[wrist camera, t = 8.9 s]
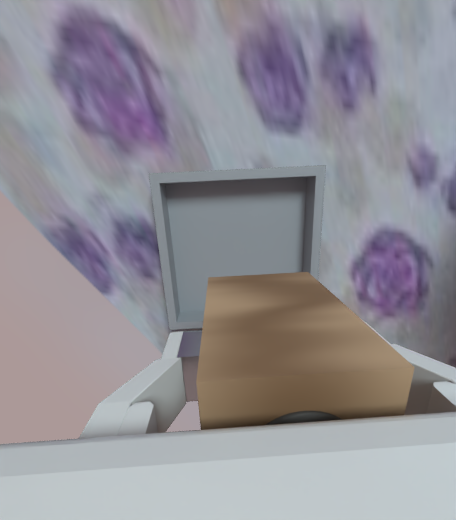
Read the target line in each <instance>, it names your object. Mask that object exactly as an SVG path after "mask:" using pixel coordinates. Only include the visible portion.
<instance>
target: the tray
mask: <svg viewBox="0 0 456 520" xmlns="http://www.w3.org/2000/svg"><path fill="white" fill-rule="evenodd" d="M325 171H326V165H321V166H300V167H278V168H257V169H236V170H215V171H193V172H172V173H151V174H149V180H150V188H151V195H152V203H153V210H154V218H155V225H156V232H157V240H158V247H159V255H160V262H161V270H162V277H163V285H164V292H165V299H166V307H167V314H168V322H169V329H170V330H177V329H194V328H203V319H204V311H205V302H206V293H207V285H208V277H225V276H243V275H261V274H279V273H297V272H309V273H310V274H311V275H312V276H313V277H314V278H315V279H316V280H318V276H319V261H320V246H321V231H322V216H323V201H324V186H325Z"/></svg>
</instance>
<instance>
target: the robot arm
mask: <svg viewBox="0 0 456 520" xmlns="http://www.w3.org/2000/svg"><path fill="white" fill-rule="evenodd" d="M363 322H365V321H363ZM365 323H366V322H365ZM366 324H367V323H366ZM367 325H368V324H367ZM368 326H369V327H370V328H371V329H372V330H374V329H373V328H372V327H371V326H370V325H368ZM374 331H375V330H374ZM375 332H376V331H375ZM376 333H377V334H378V335H379V336H380V337H381V338H383V337H382V336H381V335H380V334H379V333H378V332H376ZM201 336H202V330H200V331H177V332H171V333H170V334H169V337H168V340H167V343H166V345H165V348H164V351H163V354H162V357H161V359H157V360H155V361H154V362H153V363H151V364H150V365H149V366H147V367H146V368H145V369H143V370H142V371H141V372H140V373H138V374H137V375H136V376H134V377H133V378H132V379H130V380H129V381H128V382H126V383H125V384H124V385H123V386H121V387H120V388H119V389H117V390H116V391H115V392H113V393H112V394H111V395H109V396H108V397H107V398H106V399H104V400H103V401H102V402H100V403H99V404H98V406H97V408H96V409H95V411H94V413H93V414H92V416H91V418H90V420H89V421H88V423H87V425H86V427H85V429H84V430H83V432H82V434H81V435H80V437H79V439H67V440H53V441H39V442H24V443H11V444H0V520H456V368H455V367H452V366H450V365H447V364H445V363H442V362H440V361H437V360H435V359H432V358H429V357H427V356H424V355H422V354H419V353H417V352H414V351H412V350H409V349H407V348H404V347H402V346H399V345H397V344H390V343H389V342H388V341H387V340H385V339H384V338H383V339H384V340H385V341H386V342H387V343H388V344H389V345H390V346H391V347H393V348H394V349H395V350H396V351H397V352H398V353H399V354H400V355H402V356H403V357H404V358H405V359H406V360H407V361H408V362H409V363H411V364H412V365H413V366H414V367H415V368H414V373H413V377H412V382H411V387H410V391H409V396H408V400H407V405H406V410H405V414H404V415H401V416H387V417H373V418H359V419H345V420H331V421H318V422H304V423H290V424H277V425H263V426H249V427H235V428H221V429H207V430H194V431H179V432H166V431H167V429H168V428H169V426H170V425H171V424H172V422H173V421H174V419H175V418H176V417H177V415H178V414H179V413H180V411H181V410H182V408H183V407H184V406H185V404H186V402H189V401H198V394H197V384H196V380H197V371H198V362H199V354H200V345H201Z"/></svg>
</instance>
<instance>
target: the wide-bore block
mask: <svg viewBox="0 0 456 520" xmlns="http://www.w3.org/2000/svg"><path fill="white" fill-rule="evenodd" d="M414 368H415V367H414V366H413V365H412V364H411V363H409V362H408V361H407V360H406V359H405V358H404V357H403V356H402V355H400V354H399V353H398V352H397V351H396V350H395V349H394V348H393V347H391V346H390V345H389V344H388V343H387V342H386V341H385V340H384V339H383V338H381V337H380V336H379V335H378V334H377V333H376V332H375V331H374V330H372V329H371V328H370V327H369V326H368V325H367V324H366V323H365V322H363V321H362V320H361V319H360V318H359V317H358V316H357V315H356V314H355V313H353V312H352V311H351V310H350V309H349V308H348V307H347V306H346V305H344V304H343V303H342V302H341V301H340V300H339V299H338V298H337V297H335V296H334V295H333V294H332V293H331V292H330V291H329V290H328V289H327V288H325V287H324V286H323V285H322V284H321V283H320V282H319V281H318V280H316V279H315V278H314V277H313V276H312V275H311V274H310V273H309V272H297V273H279V274H261V275H243V276H225V277H208V285H207V293H206V302H205V311H204V319H203V328H202V336H201V345H200V354H199V362H198V371H197V380H196V384H197V394H198V404H199V414H200V423H201V430H207V429H221V428H235V427H249V426H263V425H277V424H290V423H304V422H318V421H331V420H345V419H359V418H373V417H387V416H401V415H404V414H405V410H406V405H407V400H408V396H409V391H410V387H411V382H412V377H413V373H414Z"/></svg>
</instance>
